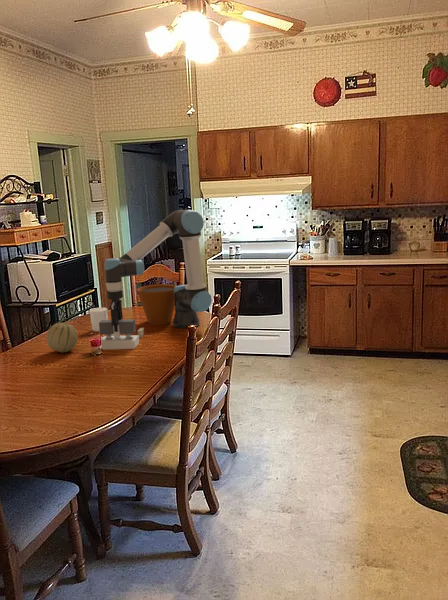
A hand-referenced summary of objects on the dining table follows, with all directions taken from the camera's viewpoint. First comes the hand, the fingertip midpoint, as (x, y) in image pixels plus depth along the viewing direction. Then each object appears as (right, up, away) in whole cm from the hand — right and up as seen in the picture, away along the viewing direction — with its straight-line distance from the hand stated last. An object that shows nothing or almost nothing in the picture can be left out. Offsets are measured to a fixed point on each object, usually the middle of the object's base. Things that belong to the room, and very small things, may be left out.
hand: (118, 335), depth 265 cm
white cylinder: (-17, +1, +34) cm, 38 cm away
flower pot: (+15, +5, +47) cm, 50 cm away
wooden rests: (+1, -2, +17) cm, 17 cm away
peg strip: (0, -2, 0) cm, 2 cm away
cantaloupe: (-26, -8, -4) cm, 27 cm away
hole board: (0, -5, +1) cm, 5 cm away
